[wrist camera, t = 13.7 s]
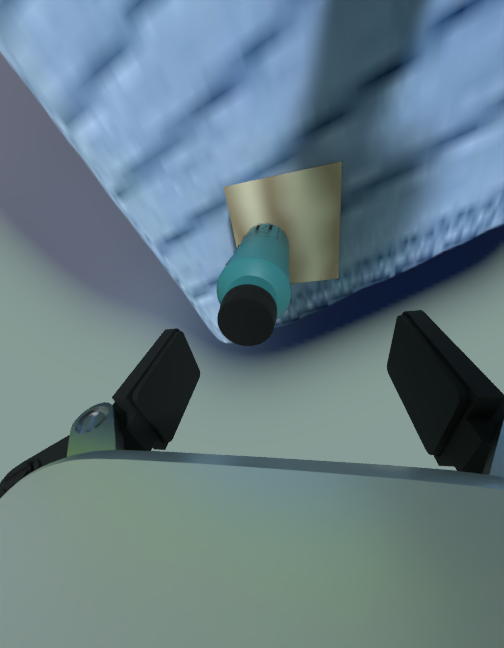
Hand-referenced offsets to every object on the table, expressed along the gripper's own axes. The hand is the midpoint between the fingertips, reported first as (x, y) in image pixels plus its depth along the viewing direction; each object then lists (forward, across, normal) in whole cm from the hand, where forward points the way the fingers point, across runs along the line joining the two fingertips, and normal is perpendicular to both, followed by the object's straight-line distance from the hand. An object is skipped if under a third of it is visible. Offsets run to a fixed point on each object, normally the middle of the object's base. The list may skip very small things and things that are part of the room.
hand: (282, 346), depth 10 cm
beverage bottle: (+24, +3, +1) cm, 24 cm away
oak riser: (+29, 0, +1) cm, 29 cm away
